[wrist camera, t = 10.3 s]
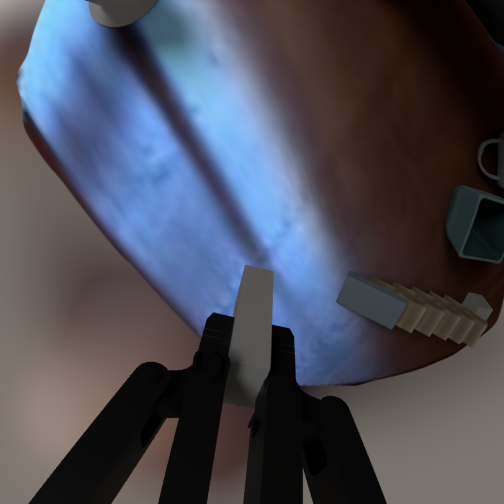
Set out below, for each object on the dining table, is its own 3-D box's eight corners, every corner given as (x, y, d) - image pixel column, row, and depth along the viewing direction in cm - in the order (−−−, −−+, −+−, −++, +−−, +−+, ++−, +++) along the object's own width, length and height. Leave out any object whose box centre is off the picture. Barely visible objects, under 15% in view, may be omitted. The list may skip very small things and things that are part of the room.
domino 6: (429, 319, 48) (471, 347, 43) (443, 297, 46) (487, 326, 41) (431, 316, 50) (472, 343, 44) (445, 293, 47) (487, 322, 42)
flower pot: (472, 236, 42) (501, 264, 34) (431, 228, 42) (458, 257, 34) (489, 186, 38) (522, 207, 30) (447, 173, 38) (480, 193, 30)
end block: (448, 325, 51) (456, 341, 47) (468, 292, 47) (479, 307, 43) (461, 328, 51) (470, 343, 47) (482, 295, 47) (492, 310, 43)
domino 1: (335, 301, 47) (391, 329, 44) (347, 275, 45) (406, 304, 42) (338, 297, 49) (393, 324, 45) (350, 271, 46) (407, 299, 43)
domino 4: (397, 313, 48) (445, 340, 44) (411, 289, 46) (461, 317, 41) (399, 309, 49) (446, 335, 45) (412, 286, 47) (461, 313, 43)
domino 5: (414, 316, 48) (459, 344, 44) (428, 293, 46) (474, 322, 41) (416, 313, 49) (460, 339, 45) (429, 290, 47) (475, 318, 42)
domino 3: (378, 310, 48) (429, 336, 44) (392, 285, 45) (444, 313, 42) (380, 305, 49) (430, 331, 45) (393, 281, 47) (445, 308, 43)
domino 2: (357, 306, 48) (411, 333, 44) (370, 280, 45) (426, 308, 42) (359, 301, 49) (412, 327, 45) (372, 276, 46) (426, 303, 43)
